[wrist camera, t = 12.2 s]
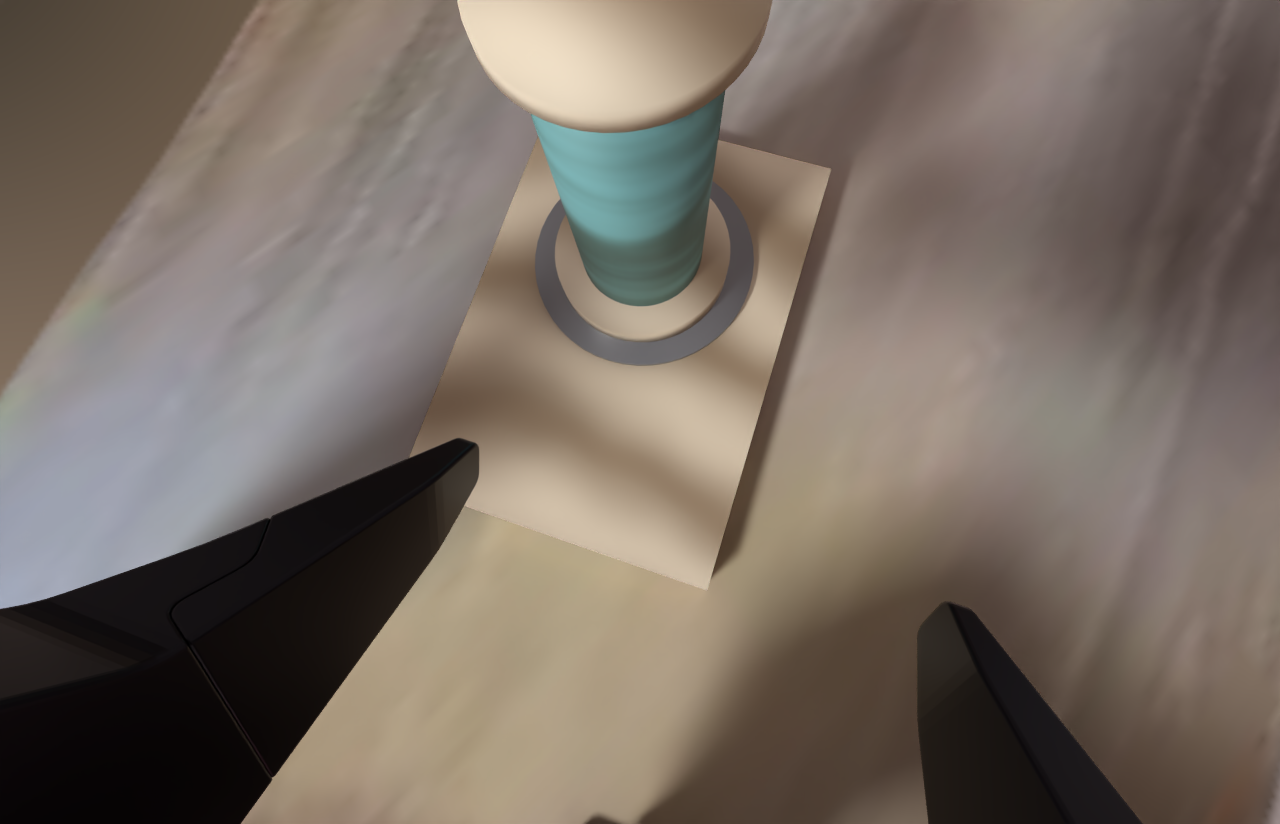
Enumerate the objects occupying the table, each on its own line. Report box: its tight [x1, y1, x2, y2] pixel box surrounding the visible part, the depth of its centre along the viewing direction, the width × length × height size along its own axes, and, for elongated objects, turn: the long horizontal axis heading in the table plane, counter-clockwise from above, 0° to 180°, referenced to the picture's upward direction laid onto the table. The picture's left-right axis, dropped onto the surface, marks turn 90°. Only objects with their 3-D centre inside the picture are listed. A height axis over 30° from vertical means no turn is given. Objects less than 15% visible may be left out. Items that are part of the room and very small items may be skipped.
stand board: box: [409, 136, 831, 590], centre depth 24 cm, size 20×14×2 cm
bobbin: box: [457, 0, 772, 342], centre depth 17 cm, size 8×8×13 cm
